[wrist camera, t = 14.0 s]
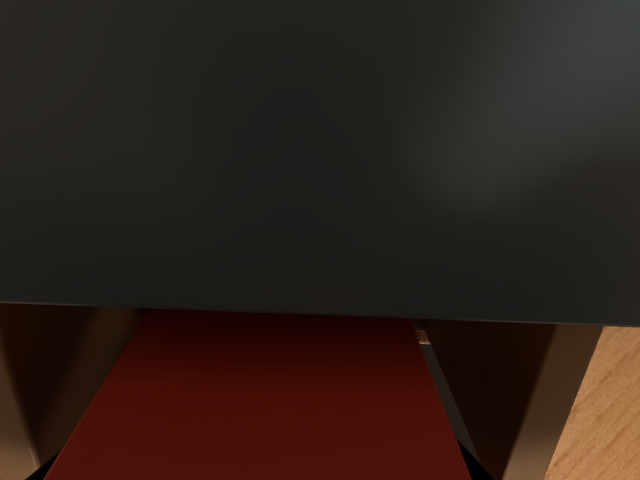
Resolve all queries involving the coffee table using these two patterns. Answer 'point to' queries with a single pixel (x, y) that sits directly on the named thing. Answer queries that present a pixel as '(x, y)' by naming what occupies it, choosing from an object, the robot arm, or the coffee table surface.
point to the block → (265, 403)
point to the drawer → (441, 355)
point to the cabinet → (324, 157)
